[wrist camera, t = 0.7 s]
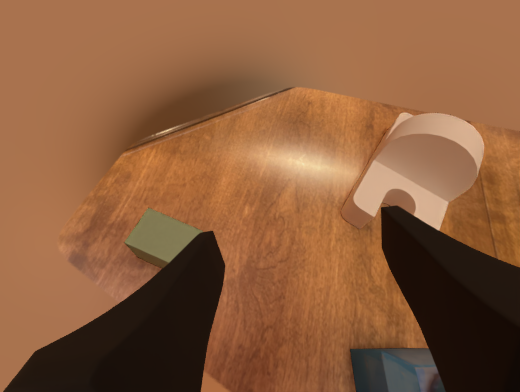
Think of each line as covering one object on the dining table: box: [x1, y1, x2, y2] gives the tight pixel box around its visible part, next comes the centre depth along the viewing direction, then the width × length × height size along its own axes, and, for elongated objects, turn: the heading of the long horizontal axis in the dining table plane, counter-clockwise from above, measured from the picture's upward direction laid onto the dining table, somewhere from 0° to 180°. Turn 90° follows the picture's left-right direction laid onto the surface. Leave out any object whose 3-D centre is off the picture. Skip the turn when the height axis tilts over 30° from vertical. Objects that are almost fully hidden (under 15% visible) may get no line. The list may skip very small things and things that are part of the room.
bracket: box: [341, 113, 484, 230], centre depth 34 cm, size 19×10×11 cm, turn 146°
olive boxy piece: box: [124, 208, 203, 268], centre depth 28 cm, size 4×6×5 cm, turn 68°
